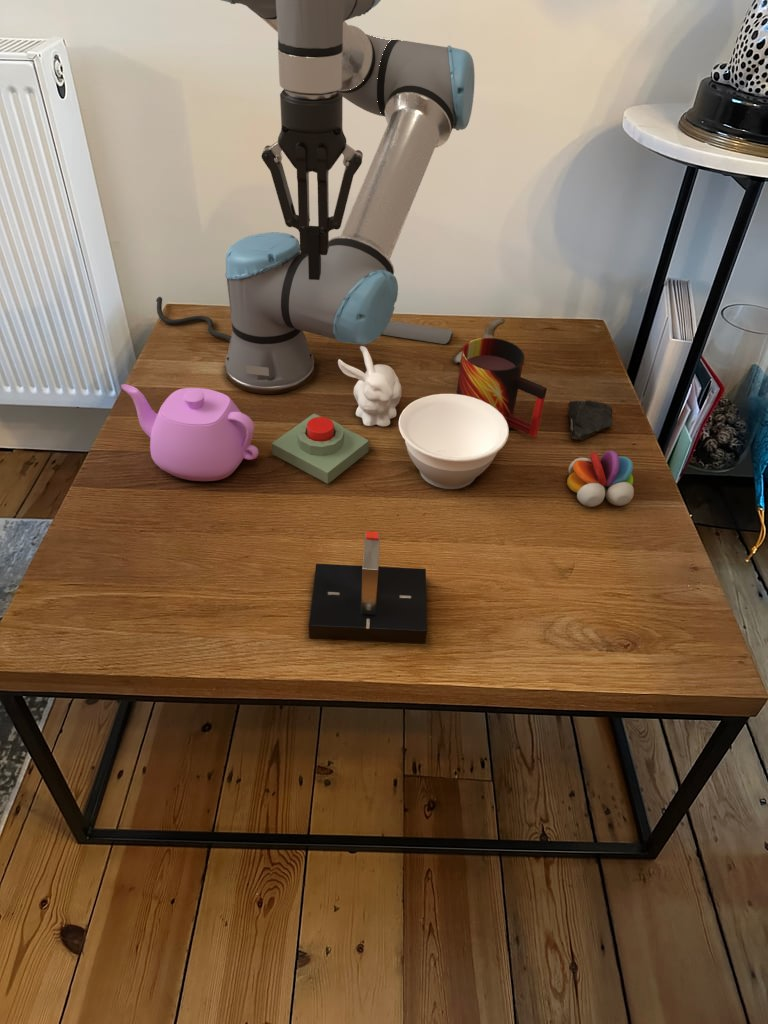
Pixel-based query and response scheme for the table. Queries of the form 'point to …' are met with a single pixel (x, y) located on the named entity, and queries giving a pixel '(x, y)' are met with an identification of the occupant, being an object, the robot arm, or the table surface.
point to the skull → (486, 333)
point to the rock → (588, 418)
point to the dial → (370, 573)
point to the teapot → (196, 433)
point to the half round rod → (417, 332)
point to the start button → (320, 429)
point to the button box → (320, 450)
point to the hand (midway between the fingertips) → (315, 275)
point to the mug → (499, 380)
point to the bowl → (452, 437)
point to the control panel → (395, 606)
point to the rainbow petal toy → (602, 479)
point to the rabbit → (374, 391)
